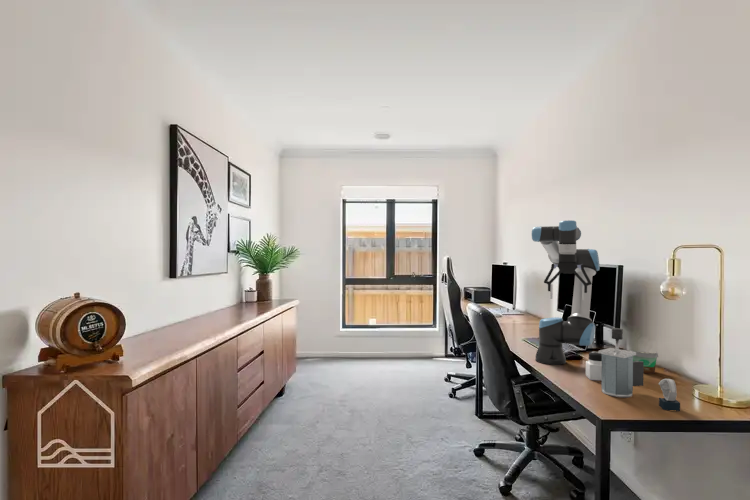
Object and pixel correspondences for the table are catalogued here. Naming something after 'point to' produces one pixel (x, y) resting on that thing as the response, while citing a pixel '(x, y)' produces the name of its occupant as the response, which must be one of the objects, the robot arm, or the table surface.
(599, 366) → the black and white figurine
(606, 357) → the press
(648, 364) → the food container
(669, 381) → the watch
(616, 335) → the plunger
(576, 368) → the table surface
